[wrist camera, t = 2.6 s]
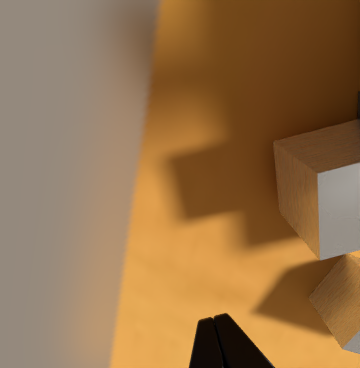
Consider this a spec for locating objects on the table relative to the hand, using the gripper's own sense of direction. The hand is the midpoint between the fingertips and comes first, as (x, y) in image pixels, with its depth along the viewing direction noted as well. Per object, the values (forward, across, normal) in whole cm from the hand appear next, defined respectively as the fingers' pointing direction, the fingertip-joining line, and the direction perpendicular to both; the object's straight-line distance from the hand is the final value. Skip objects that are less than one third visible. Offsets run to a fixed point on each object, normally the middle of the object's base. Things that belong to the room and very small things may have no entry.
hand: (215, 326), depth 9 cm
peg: (+7, -8, 0) cm, 11 cm away
